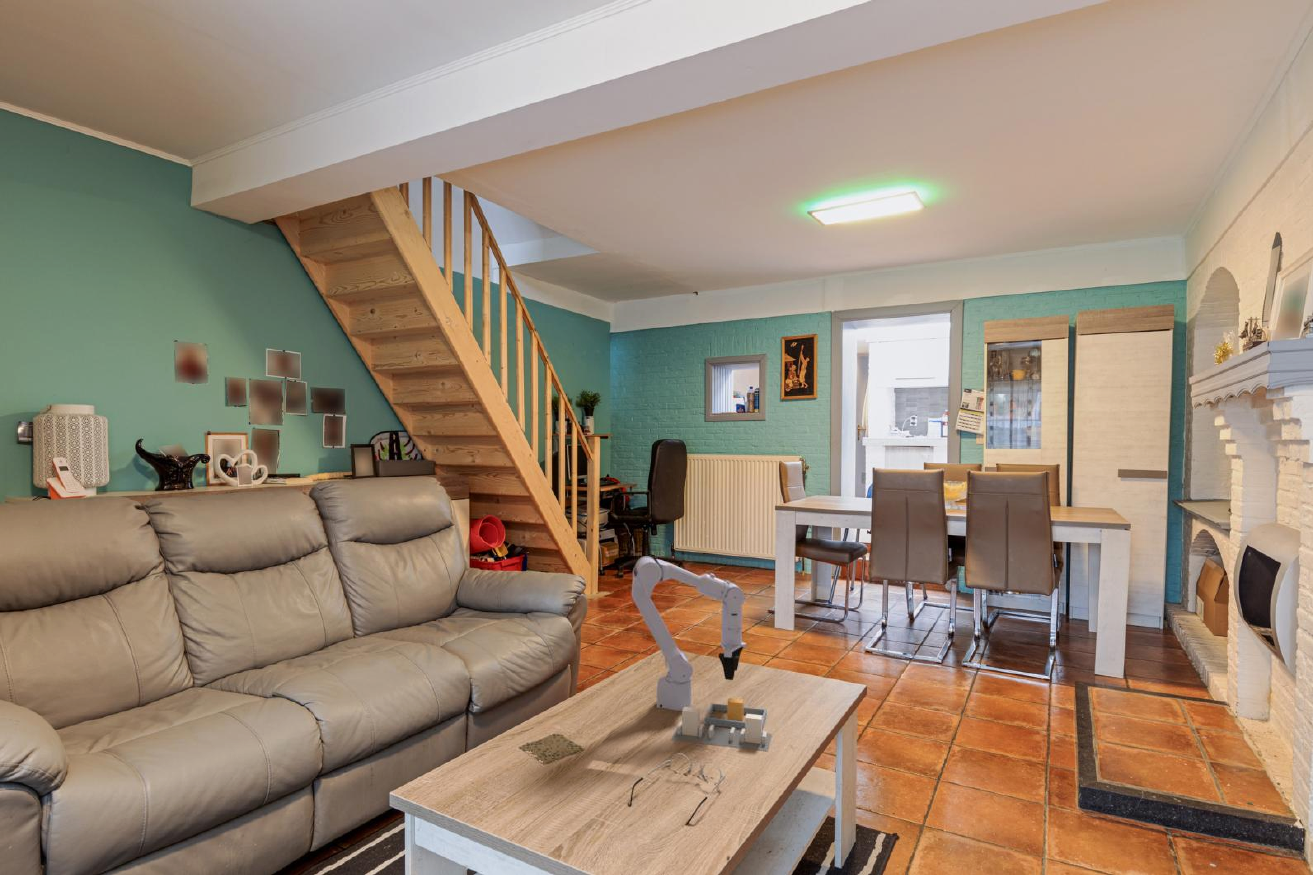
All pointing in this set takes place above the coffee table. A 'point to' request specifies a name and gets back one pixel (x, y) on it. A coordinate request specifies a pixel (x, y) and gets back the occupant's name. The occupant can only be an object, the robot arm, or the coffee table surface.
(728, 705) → the orange fuse
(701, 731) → the panel
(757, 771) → the coffee table surface
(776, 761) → the coffee table surface
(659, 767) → the eyeglasses
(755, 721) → the block
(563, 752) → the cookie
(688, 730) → the block
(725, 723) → the tray
